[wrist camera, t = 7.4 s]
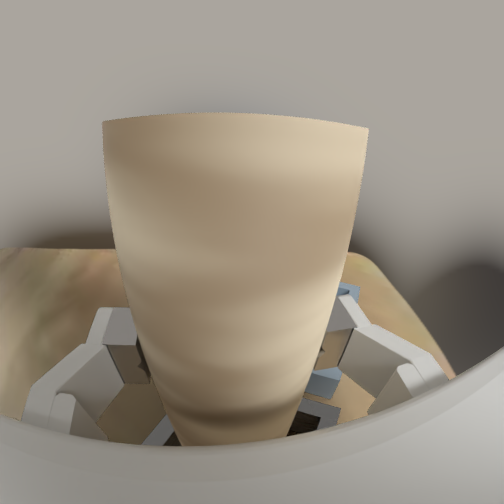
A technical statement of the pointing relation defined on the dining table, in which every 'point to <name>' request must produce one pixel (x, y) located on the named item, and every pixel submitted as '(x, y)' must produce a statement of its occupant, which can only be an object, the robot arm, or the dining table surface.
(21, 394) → the dining table surface
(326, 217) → the peg
